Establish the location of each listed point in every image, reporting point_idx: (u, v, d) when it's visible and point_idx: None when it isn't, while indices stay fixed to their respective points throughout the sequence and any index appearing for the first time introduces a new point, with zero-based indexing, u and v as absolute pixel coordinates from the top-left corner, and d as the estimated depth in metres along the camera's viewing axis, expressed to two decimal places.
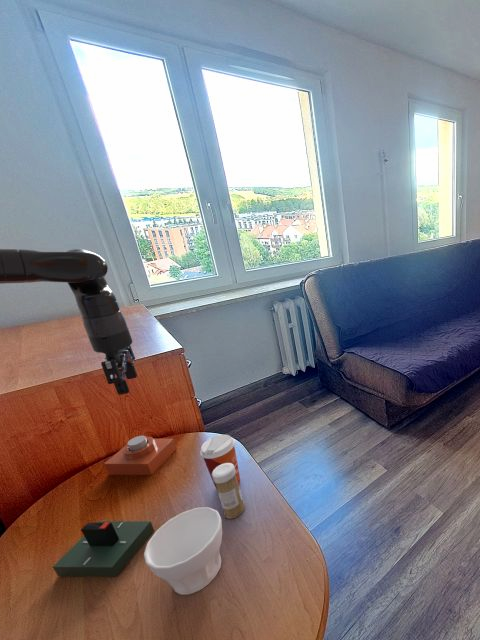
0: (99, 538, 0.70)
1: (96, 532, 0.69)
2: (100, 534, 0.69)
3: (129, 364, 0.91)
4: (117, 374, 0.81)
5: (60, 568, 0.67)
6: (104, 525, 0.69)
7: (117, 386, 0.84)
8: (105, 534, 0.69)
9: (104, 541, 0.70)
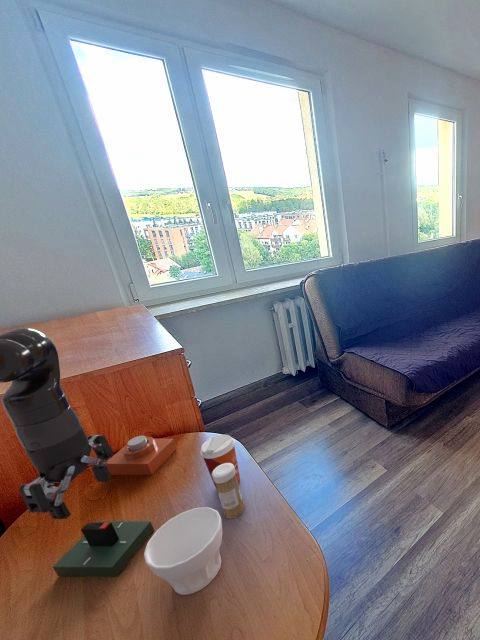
0: (99, 538, 0.70)
1: (96, 532, 0.69)
2: (100, 534, 0.69)
3: (98, 466, 0.70)
4: (38, 504, 0.58)
5: (60, 568, 0.67)
6: (104, 525, 0.69)
7: (50, 511, 0.61)
8: (105, 534, 0.69)
9: (104, 541, 0.70)
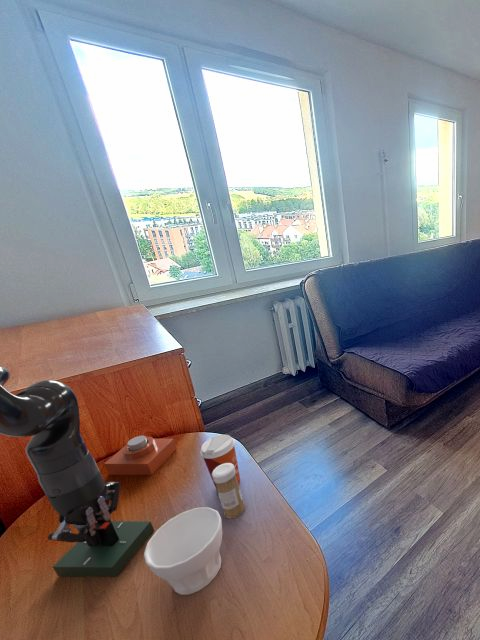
0: None
1: None
2: (100, 534, 0.69)
3: (102, 521, 0.70)
4: (74, 541, 0.64)
5: (60, 568, 0.67)
6: (104, 525, 0.69)
7: (86, 540, 0.68)
8: (105, 534, 0.69)
9: (104, 541, 0.70)
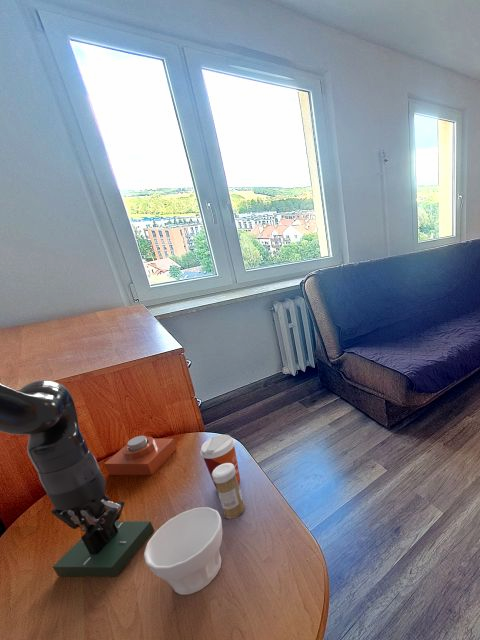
0: None
1: None
2: None
3: None
4: (120, 513, 0.70)
5: (60, 568, 0.67)
6: None
7: (107, 531, 0.70)
8: None
9: None
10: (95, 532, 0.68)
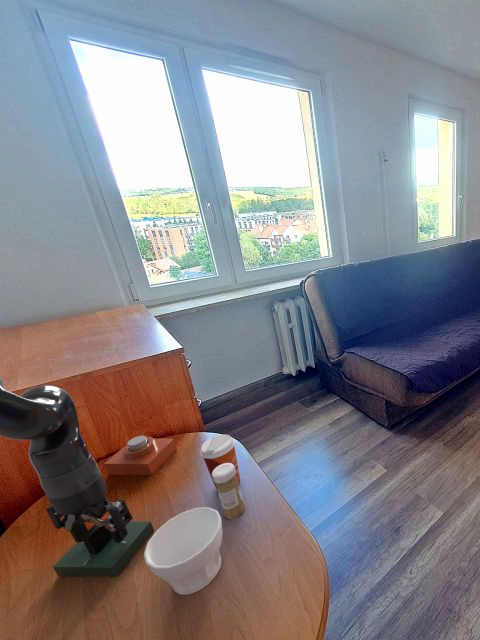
0: (106, 533, 0.71)
1: None
2: None
3: (78, 522, 0.70)
4: (128, 512, 0.69)
5: (60, 568, 0.67)
6: (104, 516, 0.71)
7: (120, 532, 0.69)
8: (112, 520, 0.72)
9: None
10: (95, 532, 0.68)
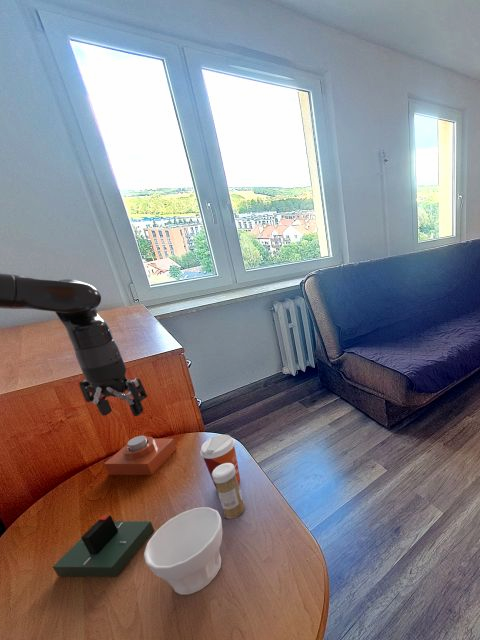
0: (106, 533, 0.71)
1: (103, 526, 0.70)
2: (107, 525, 0.71)
3: (103, 399, 0.87)
4: (143, 390, 0.86)
5: (60, 568, 0.67)
6: (104, 516, 0.71)
7: (137, 406, 0.86)
8: (112, 520, 0.72)
9: (111, 532, 0.72)
10: (95, 532, 0.68)
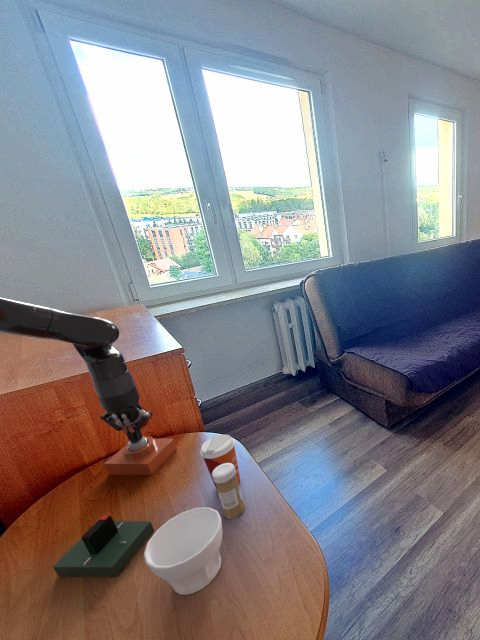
0: (106, 533, 0.71)
1: (103, 526, 0.70)
2: (107, 525, 0.71)
3: None
4: (147, 421, 0.93)
5: (60, 568, 0.67)
6: (104, 516, 0.71)
7: (137, 434, 0.92)
8: (112, 520, 0.72)
9: (111, 532, 0.72)
10: (95, 532, 0.68)
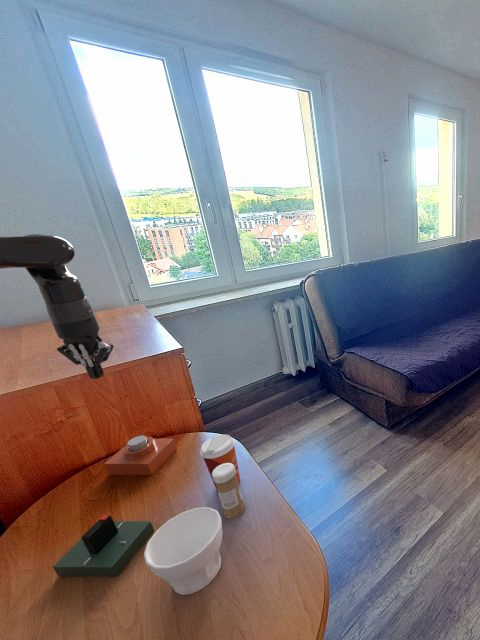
0: (106, 533, 0.71)
1: (103, 526, 0.70)
2: (107, 525, 0.71)
3: None
4: (108, 355, 0.87)
5: (60, 568, 0.67)
6: (104, 516, 0.71)
7: (97, 369, 0.87)
8: (112, 520, 0.72)
9: (111, 532, 0.72)
10: (95, 532, 0.68)
